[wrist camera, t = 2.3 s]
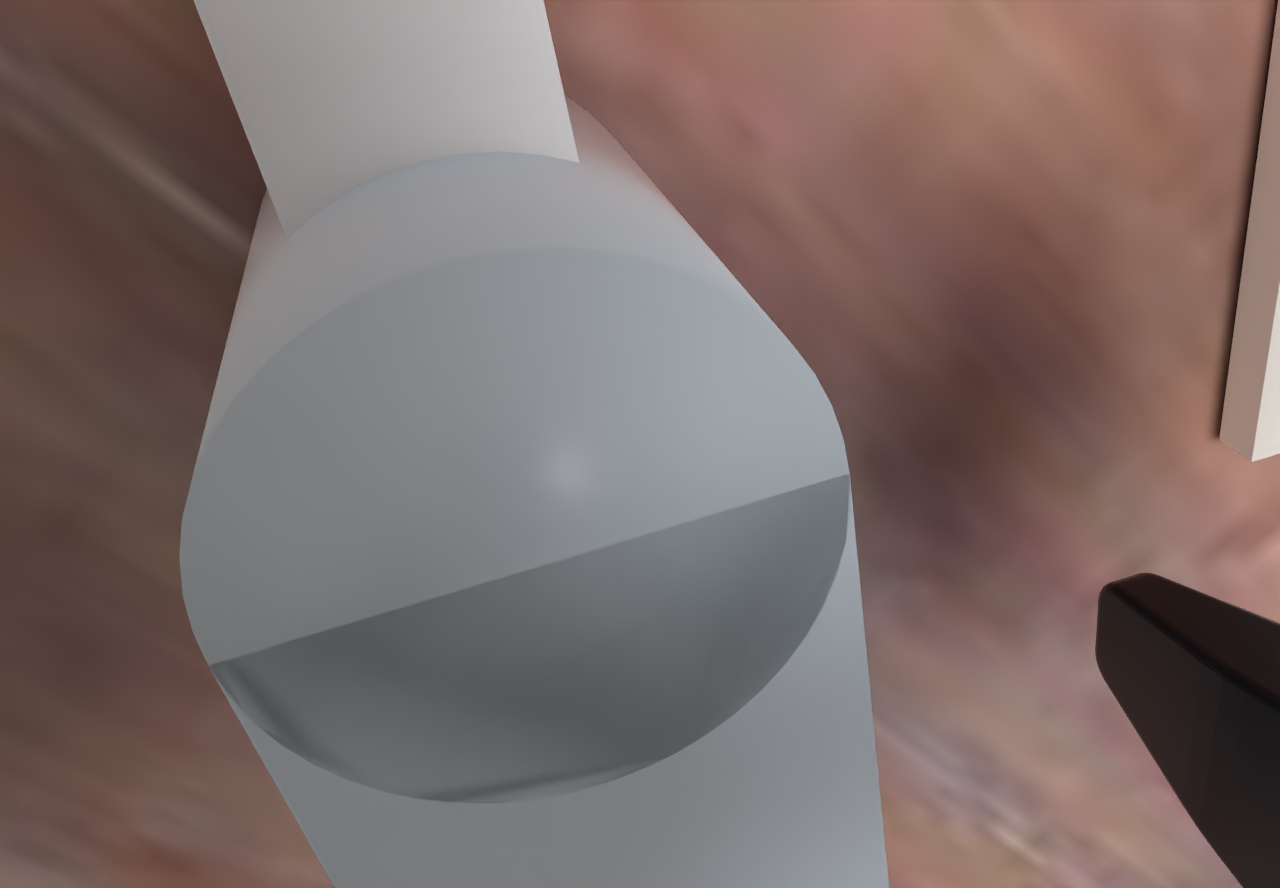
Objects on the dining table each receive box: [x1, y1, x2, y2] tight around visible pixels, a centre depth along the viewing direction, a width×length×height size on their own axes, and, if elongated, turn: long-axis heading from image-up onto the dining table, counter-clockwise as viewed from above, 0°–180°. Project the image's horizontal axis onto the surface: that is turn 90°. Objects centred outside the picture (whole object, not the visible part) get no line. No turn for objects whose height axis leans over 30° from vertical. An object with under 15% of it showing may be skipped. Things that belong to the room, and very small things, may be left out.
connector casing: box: [179, 0, 889, 888], centre depth 9 cm, size 13×4×5 cm, turn 11°
